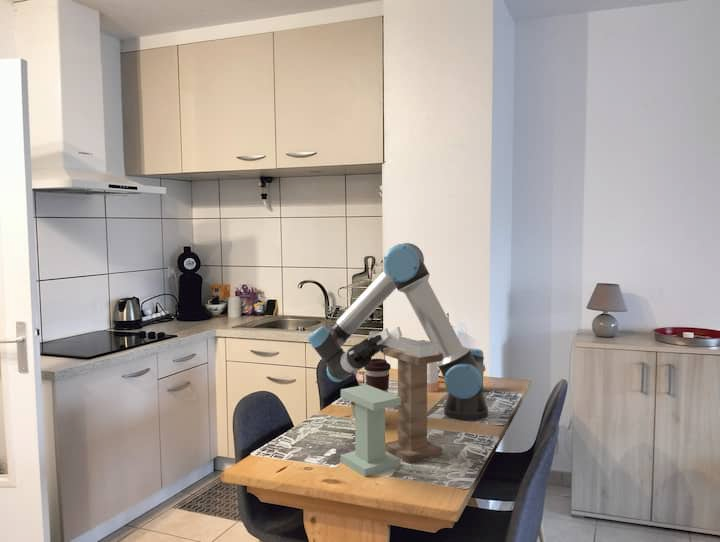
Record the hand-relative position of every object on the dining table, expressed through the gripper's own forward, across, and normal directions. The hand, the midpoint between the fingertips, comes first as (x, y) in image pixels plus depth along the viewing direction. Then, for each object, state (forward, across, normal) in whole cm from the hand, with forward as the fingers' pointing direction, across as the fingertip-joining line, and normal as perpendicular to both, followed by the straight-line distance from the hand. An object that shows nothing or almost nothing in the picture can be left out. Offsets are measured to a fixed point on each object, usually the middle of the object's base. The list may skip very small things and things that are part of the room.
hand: (393, 332), depth 181 cm
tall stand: (-9, 0, -34) cm, 35 cm away
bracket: (+1, 0, -5) cm, 5 cm away
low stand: (-9, +15, -34) cm, 38 cm away
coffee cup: (-52, -23, -10) cm, 57 cm away
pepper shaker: (-51, -48, -10) cm, 70 cm away
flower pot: (-34, -3, -20) cm, 40 cm away
